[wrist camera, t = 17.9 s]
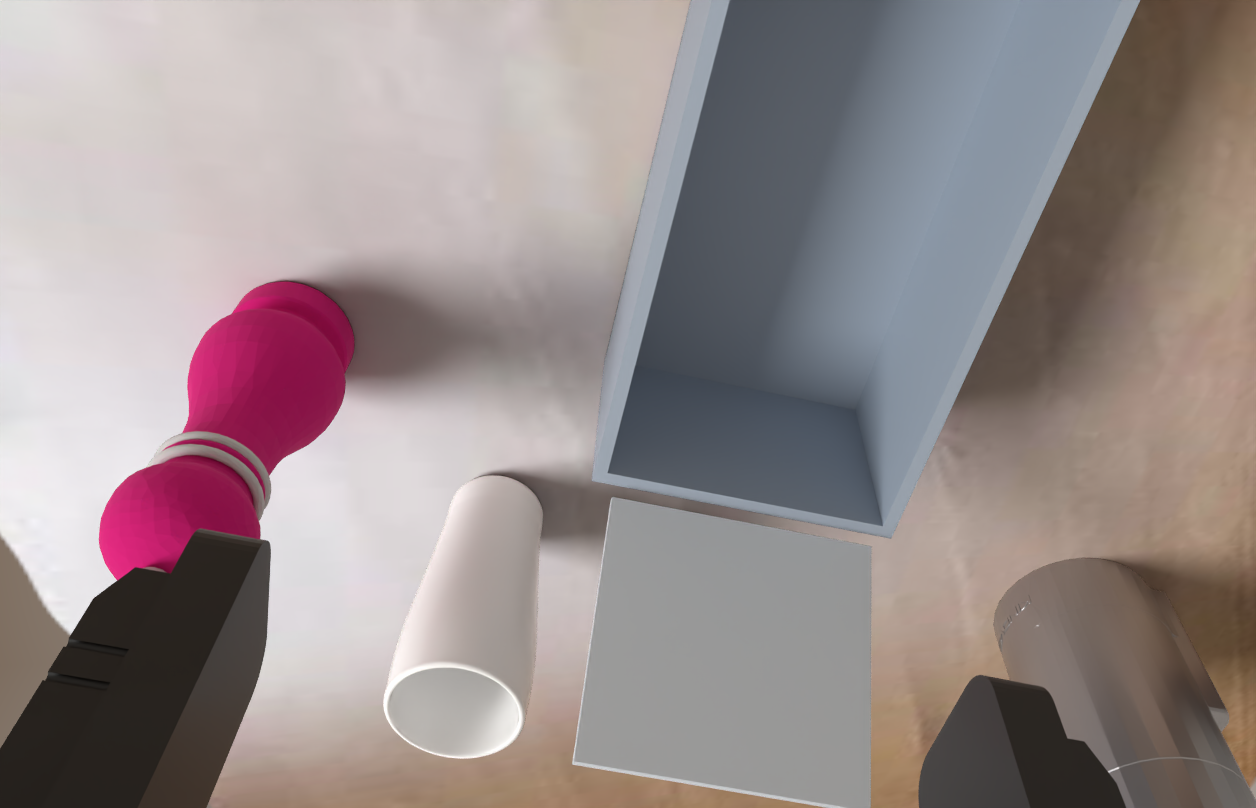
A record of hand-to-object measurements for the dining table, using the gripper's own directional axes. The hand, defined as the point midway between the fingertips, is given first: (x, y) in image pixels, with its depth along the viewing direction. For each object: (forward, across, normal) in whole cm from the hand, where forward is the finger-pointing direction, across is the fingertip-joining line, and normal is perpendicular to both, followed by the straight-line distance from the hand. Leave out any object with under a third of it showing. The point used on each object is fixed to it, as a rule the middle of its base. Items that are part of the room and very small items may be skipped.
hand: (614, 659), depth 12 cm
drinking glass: (+40, +2, +32) cm, 52 cm away
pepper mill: (+40, +14, +23) cm, 49 cm away
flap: (+30, -9, +21) cm, 38 cm away
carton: (+40, -9, +8) cm, 42 cm away
